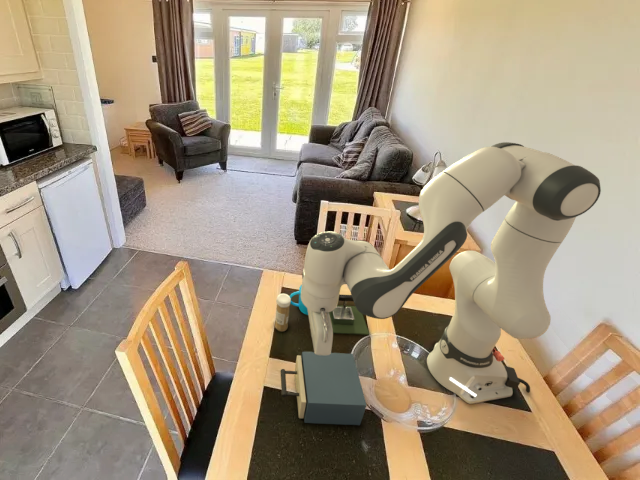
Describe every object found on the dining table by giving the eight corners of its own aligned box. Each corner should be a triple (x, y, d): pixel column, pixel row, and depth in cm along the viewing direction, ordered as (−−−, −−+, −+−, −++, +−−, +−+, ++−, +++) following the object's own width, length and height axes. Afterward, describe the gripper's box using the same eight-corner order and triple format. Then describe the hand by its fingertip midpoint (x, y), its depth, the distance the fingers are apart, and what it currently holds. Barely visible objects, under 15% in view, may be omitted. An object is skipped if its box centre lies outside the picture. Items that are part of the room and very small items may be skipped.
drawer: (281, 417, 83) (283, 401, 79) (278, 370, 94) (280, 354, 91) (350, 420, 83) (355, 404, 79) (339, 373, 94) (343, 357, 91)
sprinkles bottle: (290, 328, 109) (293, 299, 103) (279, 334, 106) (282, 305, 100) (282, 319, 112) (285, 291, 106) (271, 324, 110) (274, 296, 104)
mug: (318, 297, 121) (319, 281, 117) (322, 315, 113) (324, 298, 110) (287, 298, 121) (287, 282, 117) (289, 315, 114) (289, 299, 110)
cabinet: (304, 423, 83) (308, 402, 78) (299, 371, 95) (302, 351, 91) (360, 425, 83) (366, 405, 78) (347, 373, 95) (352, 353, 91)
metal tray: (349, 312, 115) (354, 290, 110) (353, 325, 110) (358, 302, 105) (330, 311, 115) (334, 290, 110) (333, 324, 110) (337, 301, 105)
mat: (359, 307, 118) (359, 306, 118) (369, 335, 107) (369, 333, 107) (317, 305, 118) (317, 304, 118) (322, 333, 107) (322, 331, 107)
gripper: (342, 331, 66) (334, 372, 72) (325, 265, 84) (319, 303, 90) (312, 330, 66) (306, 371, 72) (301, 265, 84) (297, 302, 90)
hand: (314, 333), depth 81 cm, fingers closed
